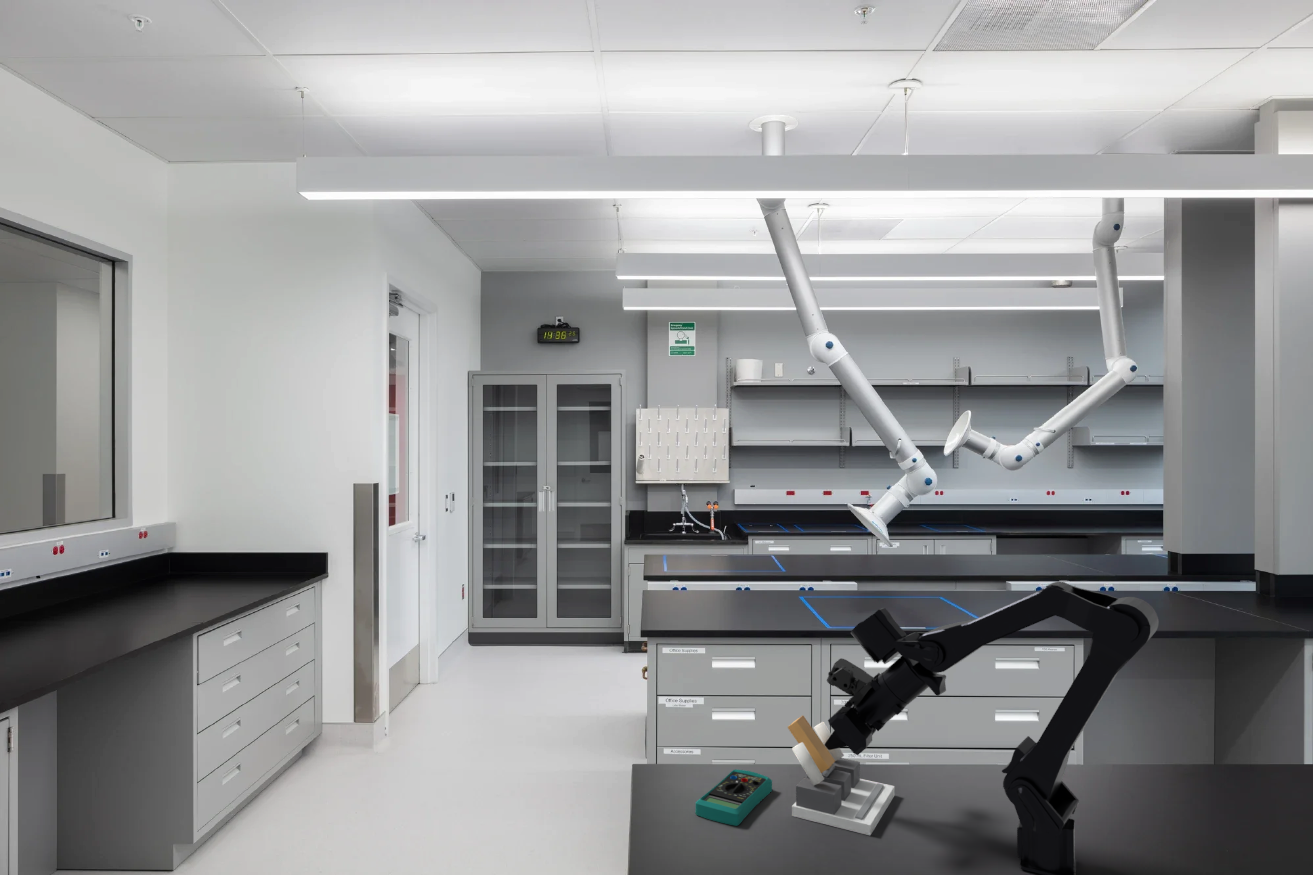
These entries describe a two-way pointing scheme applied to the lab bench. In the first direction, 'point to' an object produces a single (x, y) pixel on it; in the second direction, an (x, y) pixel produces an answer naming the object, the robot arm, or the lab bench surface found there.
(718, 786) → the digital multimeter
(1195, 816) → the lab bench surface
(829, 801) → the twin post stand
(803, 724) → the wooden block
